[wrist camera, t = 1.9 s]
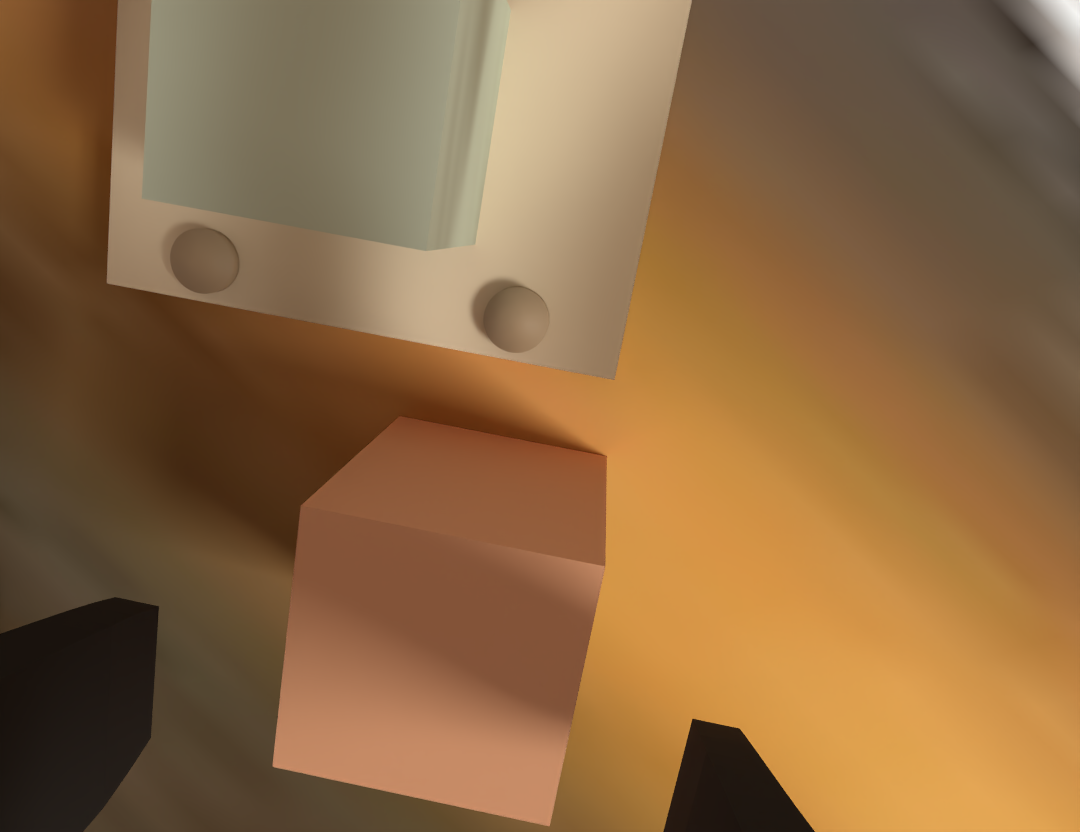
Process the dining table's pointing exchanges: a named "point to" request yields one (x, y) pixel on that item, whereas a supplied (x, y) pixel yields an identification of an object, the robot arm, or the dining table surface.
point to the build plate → (529, 220)
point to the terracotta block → (444, 618)
